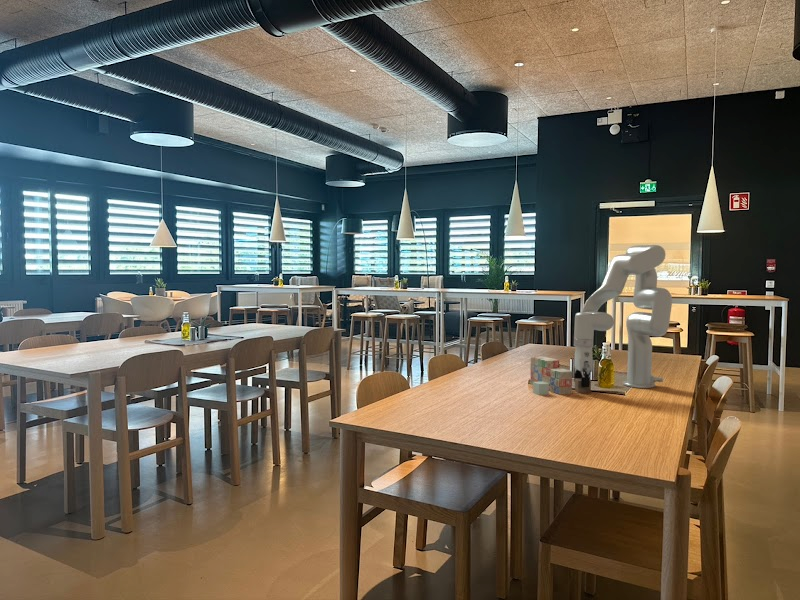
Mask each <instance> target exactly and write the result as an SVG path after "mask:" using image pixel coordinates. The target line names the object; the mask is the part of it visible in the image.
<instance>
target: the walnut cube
mask: <svg viewBox="0 0 800 600" xmlns="http://www.w3.org/2000/svg"><path fill="white" fill-rule="evenodd" d="M591 384H592V381H591V380H590V386H589V387H581V379H579V378H575V382H574V391H575V392H576V393H578V394H591V391H592V390H591V388H592V385H591Z"/></svg>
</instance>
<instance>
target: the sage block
mask: <svg viewBox="0 0 800 600" xmlns="http://www.w3.org/2000/svg"><path fill="white" fill-rule="evenodd" d="M549 392H550V391H549V383H546V382H543V381H541V382H533V385H532V393H533V394H535V395H537V396H547V395H550V393H549Z"/></svg>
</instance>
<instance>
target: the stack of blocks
mask: <svg viewBox="0 0 800 600" xmlns="http://www.w3.org/2000/svg"><path fill="white" fill-rule="evenodd" d="M529 370H530V378H529V379H530V382H529V383H530V385H531V386H533V382H541V381H543V382H546V383H549V392H551V393H553V394H556V395H559V396H560V395H571V394H573V392H572V391H573V387H572V386H573V371H572V370H569V369H565V368H563V367H562V368H561V367H560V360H559V359H555V358H552V357H548V356H541V355H539V356H530V369H529Z"/></svg>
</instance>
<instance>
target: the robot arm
mask: <svg viewBox="0 0 800 600" xmlns="http://www.w3.org/2000/svg"><path fill="white" fill-rule="evenodd" d="M664 260H666V250H665V249H664V247H662V246H661V245H658V244H646V245H645V244H644V245H643V244H642V245H641V244H640V245H631V246H630V247H628V248H627V249H626V251H625V254H617V255H615V256H614V257H613V258H612V259H611V261H610V264H609V266H608V269H607V271H606V273H605V276H604V279H603V281H602V283H601V286H600V287H599V288H598V289H597V290H596V291H594V292H593V293H592V294H591V295H590V296H589V297H588V299H587V300H586V301H585V303H584V305H583V307H582V310H581V312H576V313H575V316H574V328H573V330H574V332H573V333H574V334H573V347H574V348H575V350H574V358H573V359H574V360H573V361H574V362H573V363H574V364H573V365H574V376H573V377H574V380H573V381H574V383H575V378H579V379H581V387H589V386H590V381H591V372H593V370H594V369H593V367H594V366H593V348H594V337H595V336H594V334H595V332H594V331H599V332H607V331H609V330H611V329H612V328H613V327H614V324H615V320H614V317H613V316H612V315H611V314H610V313H608V312H604V311H602V312H601V311H599V310H600V308H601V307H602V305H604V304H605V303H607V302H609V301H610V300H612V299H614V298H617V297H619V296H621V295H622V293H623V291H624V288H625V285H626V283H627V281H628V278H629V276H635V282H634V290H633V297H632V299H633V300H632V301H633V302H632V303H633V305H634V307H636V308H638V309H639V310H640V309H642V310H649V311H650V310H651V312H645V311H644V312H643V311H634V312H632V313H630V314H629V315H628V316H627V318H626V325H625V326H626V332H627V367H626V368H627V369H626V371H627V373H626V374H627V375H626V379H624V380H623V382H622V384H623V386H626V387H630V388H639V389H652V388H655V386H656V384H655V383H656V382H658V383H663V382H664V377H660V376H659V377H658V376H654V375H652V364H653V363H652V361H653V343H652V339H651V336H652V337H660V338H661V337H663V336H664V335H666V334H667V332H668V330H669V327H670V321H671V314H672V307H673V306H672V305H673V298H672V295H671V293H670V291H669V290H668V289H667V288H665V287H658V273H657V270H656V269H655V268H657V267H658V266H660V265H661V264H663V263H664Z"/></svg>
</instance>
